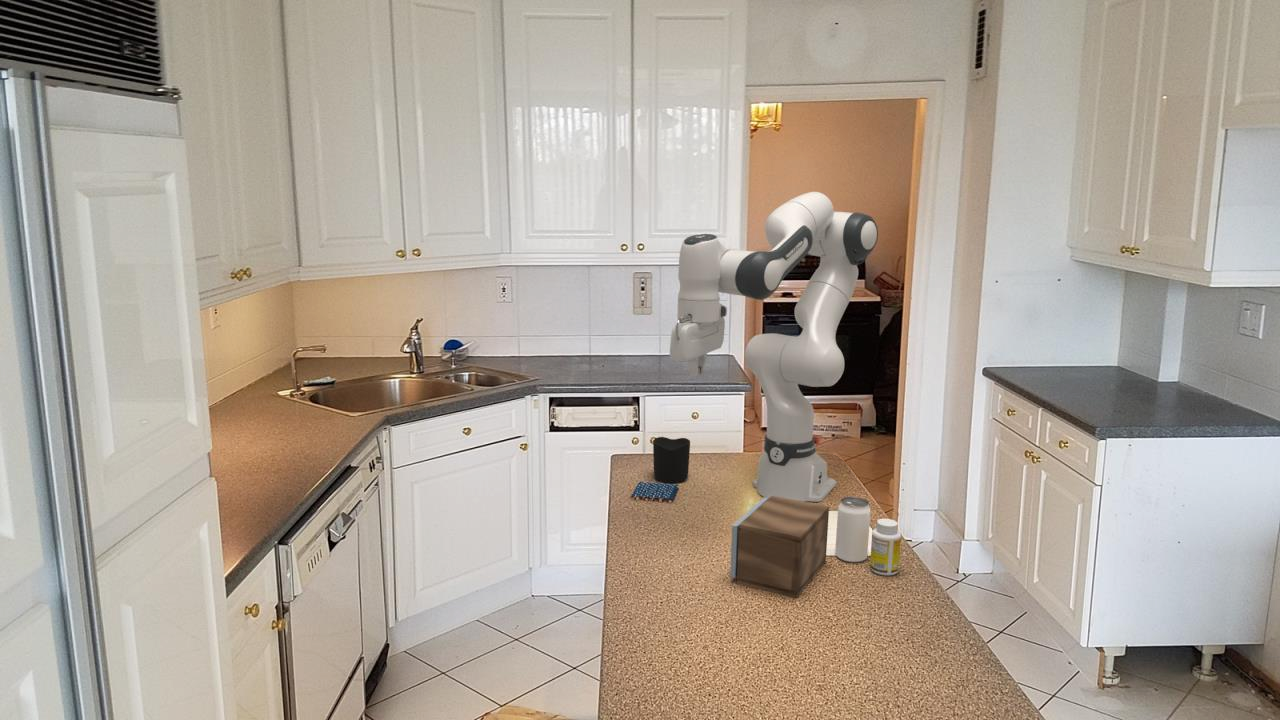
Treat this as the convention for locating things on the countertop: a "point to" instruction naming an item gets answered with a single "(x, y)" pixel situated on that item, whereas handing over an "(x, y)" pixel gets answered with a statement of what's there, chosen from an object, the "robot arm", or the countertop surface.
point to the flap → (736, 538)
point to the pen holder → (671, 459)
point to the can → (852, 529)
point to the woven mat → (655, 492)
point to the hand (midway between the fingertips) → (696, 375)
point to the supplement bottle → (885, 547)
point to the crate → (782, 545)
